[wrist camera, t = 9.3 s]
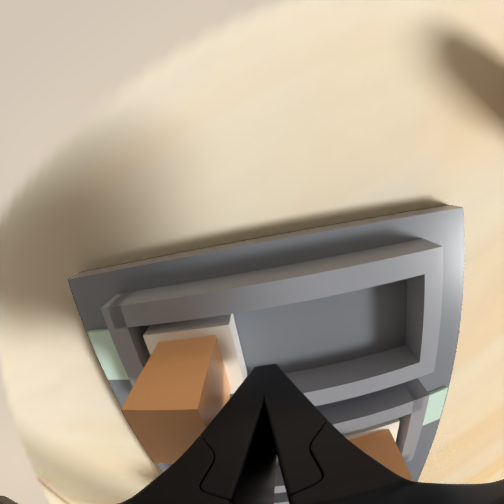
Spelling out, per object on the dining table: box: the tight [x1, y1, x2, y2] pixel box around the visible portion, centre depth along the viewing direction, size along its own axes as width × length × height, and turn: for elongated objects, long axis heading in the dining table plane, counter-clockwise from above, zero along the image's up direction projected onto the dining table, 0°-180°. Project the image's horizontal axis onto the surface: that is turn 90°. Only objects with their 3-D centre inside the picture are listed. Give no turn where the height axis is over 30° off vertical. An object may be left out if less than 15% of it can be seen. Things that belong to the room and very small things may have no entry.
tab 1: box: [121, 314, 247, 464], centre depth 8 cm, size 3×3×5 cm
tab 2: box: [343, 418, 413, 481], centre depth 9 cm, size 3×3×5 cm
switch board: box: [68, 205, 465, 504], centre depth 12 cm, size 22×16×2 cm
